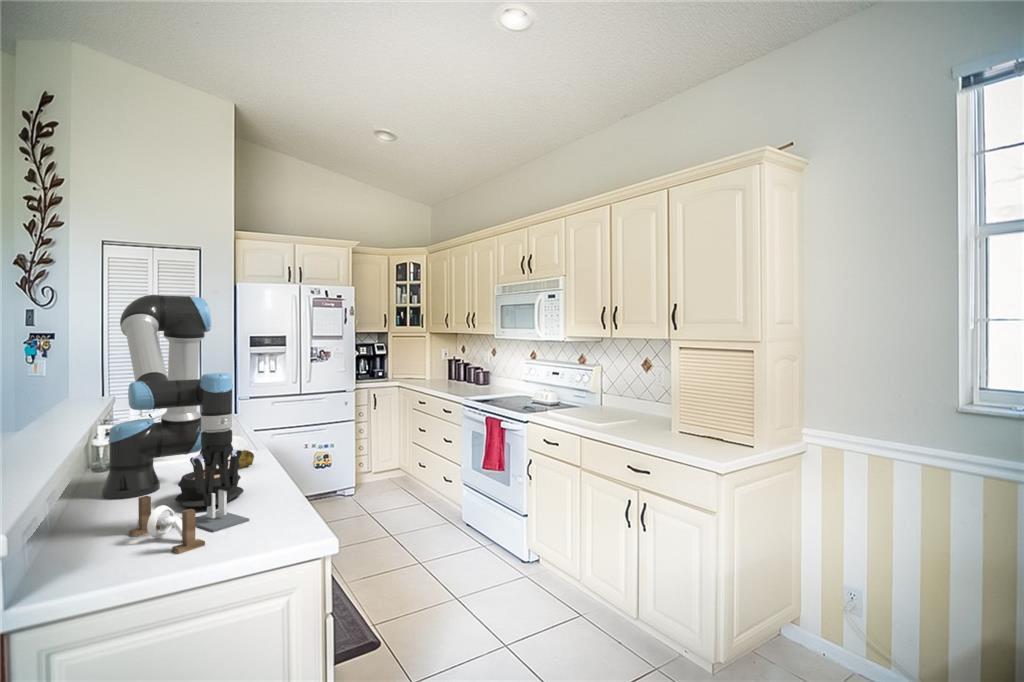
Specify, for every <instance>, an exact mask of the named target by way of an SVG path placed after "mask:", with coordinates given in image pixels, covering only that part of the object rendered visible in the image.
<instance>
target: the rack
mask: <svg viewBox="0 0 1024 682" xmlns="http://www.w3.org/2000/svg"><path fill="white" fill-rule="evenodd" d="M151 513H152V497H151V496H149V495H145V496H141V497H138V527H137V528H134V529H130V530H129V529H128V535H129V536H132V537H137V536H138V537H139V536H142V535H145V534H149V533H148V530H147V523H148V519H149V517H150V515H151ZM195 517H196V510H195V509H193V508H190V509H189V508H188V509H185V510H182V511H181V519H182V537H181V542H182V543H179V544H177V545H174V546H171V551H172V553H176V554H179V555H180V554H184V553H186V552H188V551H192V550H195V549H198V548H200V547H204V546H206V541H205V540H203V539H200V538H196V526H195ZM156 529H157V531H159V530H161V525H160V524H157V523H156Z"/></svg>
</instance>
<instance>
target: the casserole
mask: <svg viewBox="0 0 1024 682" xmlns="http://www.w3.org/2000/svg"><path fill="white" fill-rule="evenodd" d="M205 470H206V469H205ZM205 470H204V469H203V473H204V479H205ZM228 472H229V468H228ZM241 479H242V478H241V476H240V474H238V475H237V484H236V486H233V487H232V489H231V490H229V501H227V503H228V502H230V501H232V500H233V499H234V498H236V497H238V496H240V495H242V494H243V493H244V491H245V490H244V488H242V487H241V486H238V485H239V481H240V480H241ZM177 485H178V487H179V489H180V491H181V493H180V494H178V495H177V496H175V497H174V501H175V502H177V503H179V504H181V506H183V507H185V508H203V507H206V506H205V505H204V494H201V493H197V492H196V486H195V478H194V471H191V472H188V473H186V474H184V475H183V476H181V478H180V481H179V482H178V483H177ZM218 490H222V488H221V482H220V474H219V468H216V469H215V474H214V483H213V491H212V493H214V494H215V506H218Z"/></svg>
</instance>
